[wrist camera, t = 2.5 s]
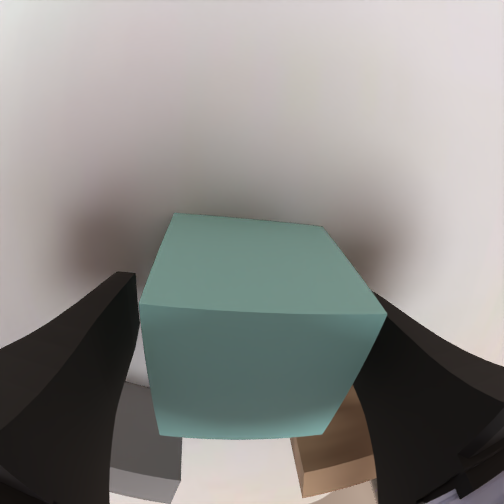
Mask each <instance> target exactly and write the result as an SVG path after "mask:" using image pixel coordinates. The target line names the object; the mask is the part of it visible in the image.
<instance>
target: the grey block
mask: <svg viewBox="0 0 504 504" xmlns="http://www.w3.org/2000/svg"><path fill="white" fill-rule="evenodd" d="M181 456H182V437H173V436H163V435H160V434H159V430H158V425H157V420H156V416H155V411H154V406H153V401H152V396H151V390H150V387H145V386H141V385H137V384H132V383H128V382H124V386H123V389H122V393H121V396H120V399H119V403H118V407H117V412H116V417H115V424H114V431H113V439H112V449H111V460H110V481H109V492H112V493H116V494H120V495H124V496H129V497H133V498H138V499H143V500H149V501H155V502H161V503H168V504H171V501H172V499H173V497H174V495H175V493H176V490H177V488H178V486H179V484H180V481H181Z"/></svg>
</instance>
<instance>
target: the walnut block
mask: <svg viewBox="0 0 504 504" xmlns="http://www.w3.org/2000/svg"><path fill="white" fill-rule="evenodd" d="M290 440H291V445H292V450H293V455H294V459H295V464H296V469H297V474H298V479H299V483H300V488H301V493H302V498H306V497H310V496H315V495H319V494H324V493H328V492H332V491H336V490H339V489H343V488H347V487H350V486H353V485H357V484H360V483H363V482H366V481H369V480H372V479H375V478H377V477H376V469H375V461H374V455H373V450H372V444H371V439H370V435H369V431H368V427H367V423H366V419H365V415H364V412H363V409H362V406H361V404H360V401H359V399H358V396H357V394H356V391H355V389H354V386H353V384H352V386H351V388H350V390H349V391H348V393H347V395H346V397H345V398H344V400H343V402H342V403H341V405H340V407H339V408H338V410H337V412H336V413H335V415H334V417H333V418H332V420H331V421H330V423H329V425H328V426H327V428H326V429H325V431H324V432H323V434H321V435H313V436H303V437H291V438H290Z"/></svg>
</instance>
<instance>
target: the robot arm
mask: <svg viewBox="0 0 504 504" xmlns="http://www.w3.org/2000/svg"><path fill="white" fill-rule="evenodd" d="M372 293H373V294H374V296H375V297H376V298H377V300H378V301H379V303H380V304H381V305H382V307H383V308H384V310H385V311H386V312H387V316H386V319H385V321H384V323H383V325H382V327H381V330H380V332H379V334H378V336H377V338H376V340H375V342H374V344H373V346H372V348H371V350H370V352H369V354H368V356H367V358H366V360H365V362H364V364H363V366H362V368H361V370H360V372H359V373H358V375H357V377H356V379H355V381H354V383H353V386H354V389H355V391H356V394H357V396H358V399H359V401H360V404H361V406H362V409H363V412H364V415H365V419H366V423H367V427H368V431H369V435H370V439H371V444H372V450H373V455H374V461H375V469H376V477H377V489H378V504H504V367H503V366H500V365H497V364H494V363H492V362H489V361H486V360H484V359H482V358H479V357H477V356H475V355H473V354H470V353H468V352H466V351H464V350H462V349H460V348H459V347H457V346H455V345H453V344H451V343H450V342H448V341H446V340H444V339H443V338H441V337H439V336H438V335H436V334H435V333H433V332H431V331H430V330H428V329H427V328H425V327H424V326H422V325H421V324H419V323H418V322H416V321H415V320H414V319H412V318H411V317H409V316H408V315H406V314H405V313H404V312H402V311H401V310H399V309H398V308H397V307H395V306H394V305H392V304H391V303H390V302H388V301H387V300H385V299H384V298H382V297H381V296H379V295H378V294H376V293H375V292H373V291H372ZM139 325H140V320H139V311H138V300H137V289H136V275H135V273H128V272H116V273H115V274H113V275H112V276H111V277H109V278H108V279H107V280H105V281H104V282H103V283H101V284H100V285H99V286H98V287H96V288H95V289H94V290H93V291H91V292H90V293H89V294H87V295H86V296H85V297H83V298H82V299H81V300H80V301H78V302H77V303H76V304H74V305H73V306H71V307H70V308H69V309H67V310H66V311H64V312H63V313H62V314H60V315H59V316H57V317H56V318H55V319H53V320H52V321H50V322H49V323H47V324H45V325H44V326H42V327H41V328H39V329H37V330H36V331H34V332H32V333H31V334H29V335H27V336H25V337H23V338H21V339H19V340H17V341H15V342H13V343H11V344H9V345H7V346H5V347H3V348H1V349H0V504H110V503H109V481H110V460H111V449H112V439H113V431H114V424H115V417H116V412H117V407H118V403H119V399H120V396H121V393H122V389H123V386H124V382H125V379H126V376H127V373H128V370H129V366H130V363H131V360H132V357H133V353H134V350H135V346H136V341H137V336H138V330H139Z"/></svg>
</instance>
